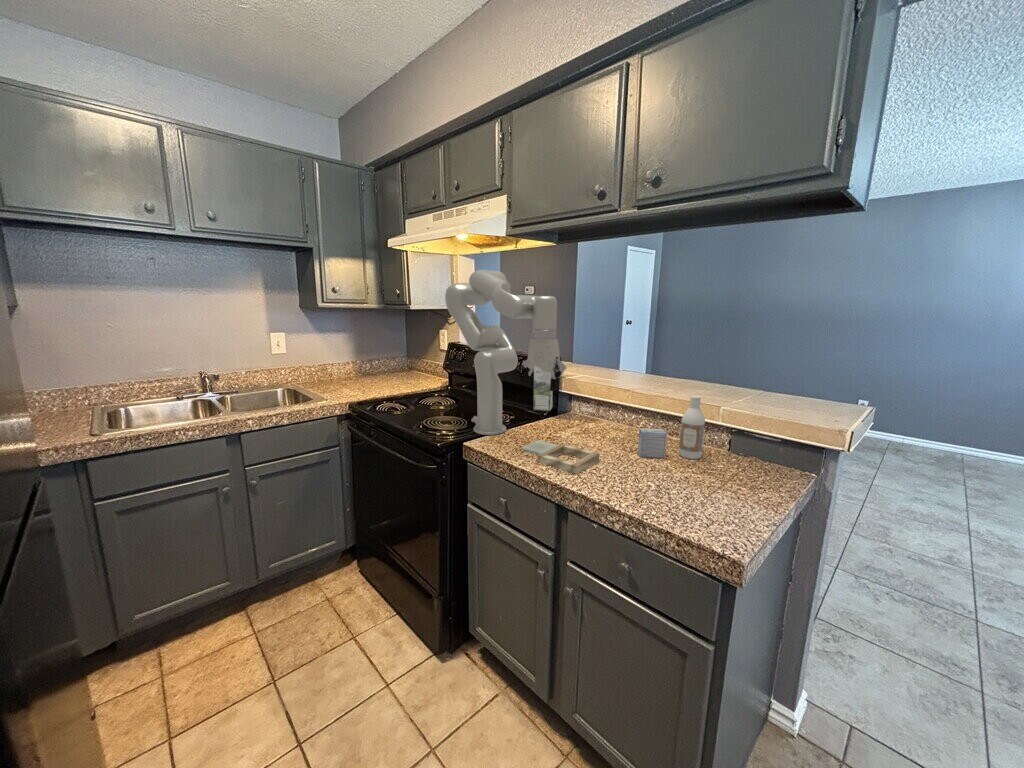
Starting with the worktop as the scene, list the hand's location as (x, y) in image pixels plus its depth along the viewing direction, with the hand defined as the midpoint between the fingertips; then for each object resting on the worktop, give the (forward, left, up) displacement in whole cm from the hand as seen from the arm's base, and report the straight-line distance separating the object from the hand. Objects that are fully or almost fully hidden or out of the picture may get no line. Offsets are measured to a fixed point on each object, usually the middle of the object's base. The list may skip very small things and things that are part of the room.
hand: (543, 388), depth 138 cm
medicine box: (+31, +18, -21) cm, 42 cm away
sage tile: (0, 0, -21) cm, 21 cm away
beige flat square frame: (+13, -4, -21) cm, 25 cm away
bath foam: (+41, +26, -21) cm, 53 cm away
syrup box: (0, 0, -7) cm, 7 cm away
